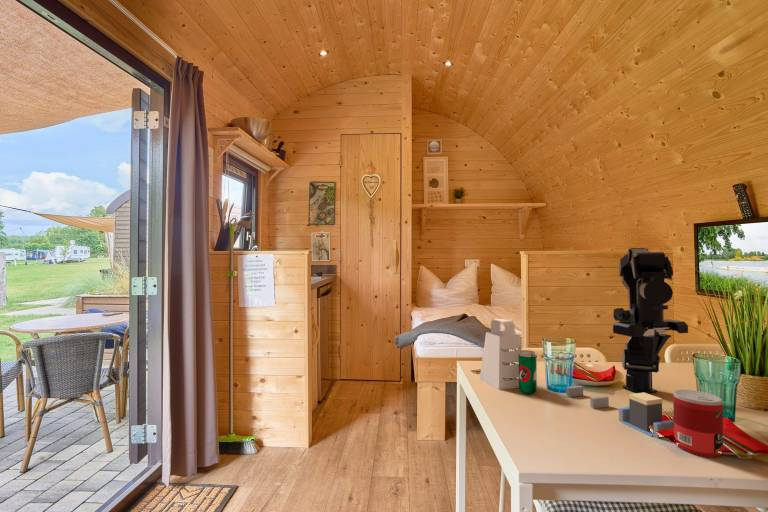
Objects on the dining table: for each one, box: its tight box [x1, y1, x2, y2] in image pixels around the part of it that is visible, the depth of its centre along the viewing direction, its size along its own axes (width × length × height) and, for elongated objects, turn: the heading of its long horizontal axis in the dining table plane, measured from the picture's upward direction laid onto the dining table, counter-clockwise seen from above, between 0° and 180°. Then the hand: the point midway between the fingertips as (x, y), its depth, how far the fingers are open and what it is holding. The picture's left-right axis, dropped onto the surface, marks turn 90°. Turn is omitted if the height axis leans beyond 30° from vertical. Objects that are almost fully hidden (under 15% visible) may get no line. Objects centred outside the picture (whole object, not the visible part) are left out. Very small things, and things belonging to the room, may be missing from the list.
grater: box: [479, 318, 523, 391], centre depth 126 cm, size 10×10×20 cm
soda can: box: [517, 349, 538, 395], centre depth 117 cm, size 5×5×12 cm
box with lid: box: [628, 392, 663, 432], centre depth 92 cm, size 5×5×7 cm
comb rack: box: [565, 385, 674, 439], centre depth 100 cm, size 6×28×3 cm, turn 16°
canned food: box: [672, 389, 724, 458], centre depth 82 cm, size 8×8×11 cm
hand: (650, 361), depth 101 cm, fingers closed
